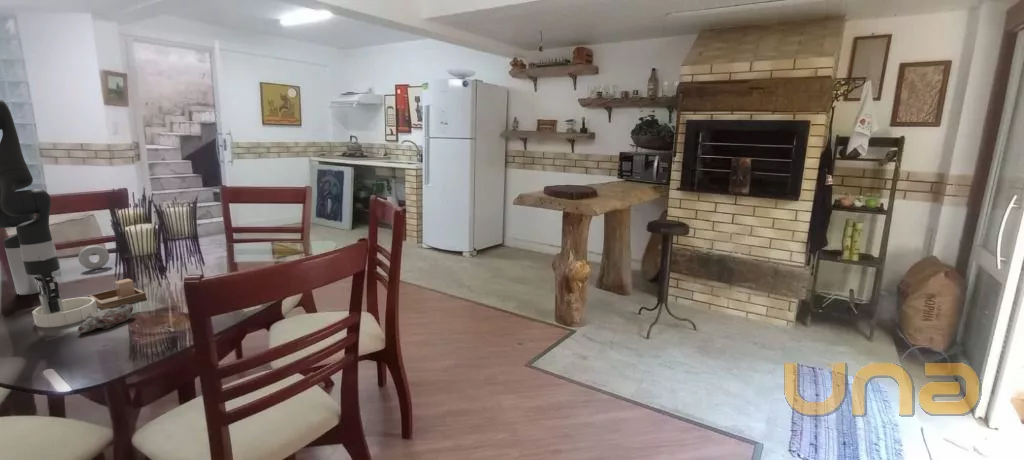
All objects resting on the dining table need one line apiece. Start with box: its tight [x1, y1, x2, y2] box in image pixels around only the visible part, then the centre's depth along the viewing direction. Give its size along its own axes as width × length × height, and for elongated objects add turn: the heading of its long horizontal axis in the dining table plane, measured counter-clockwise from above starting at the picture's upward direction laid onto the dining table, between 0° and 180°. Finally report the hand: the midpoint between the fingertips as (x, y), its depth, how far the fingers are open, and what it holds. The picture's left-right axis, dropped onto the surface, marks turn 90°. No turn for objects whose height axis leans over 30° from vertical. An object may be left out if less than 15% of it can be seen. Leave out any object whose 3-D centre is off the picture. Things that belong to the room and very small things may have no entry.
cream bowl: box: [31, 296, 99, 328], centre depth 154 cm, size 14×14×4 cm
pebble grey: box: [38, 292, 64, 314], centre depth 151 cm, size 4×4×6 cm
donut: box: [78, 245, 110, 270], centre depth 204 cm, size 10×4×10 cm, turn 140°
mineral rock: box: [76, 303, 134, 334], centre depth 148 cm, size 15×8×4 cm, turn 144°
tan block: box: [114, 278, 136, 299], centre depth 170 cm, size 4×4×6 cm
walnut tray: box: [87, 286, 147, 310], centre depth 168 cm, size 14×12×2 cm
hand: (53, 310), depth 151 cm, fingers closed on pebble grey, 4 cm apart
